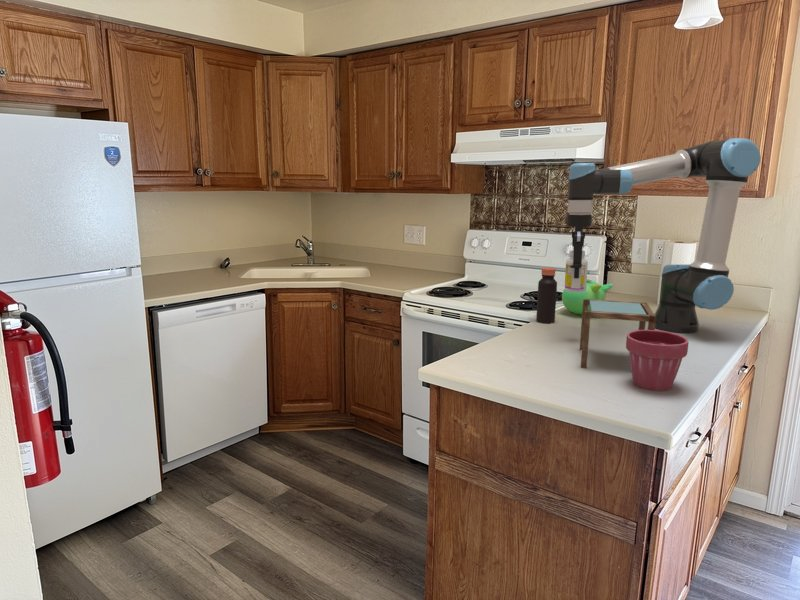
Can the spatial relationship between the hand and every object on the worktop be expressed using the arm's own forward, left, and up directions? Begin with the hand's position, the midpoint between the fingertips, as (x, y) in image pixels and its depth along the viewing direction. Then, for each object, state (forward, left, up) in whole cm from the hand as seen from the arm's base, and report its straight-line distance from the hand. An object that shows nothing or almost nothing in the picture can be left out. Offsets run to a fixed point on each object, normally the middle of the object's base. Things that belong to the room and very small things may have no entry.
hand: (575, 286), depth 177 cm
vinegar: (+9, -25, -19) cm, 32 cm away
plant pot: (-20, +36, -19) cm, 45 cm away
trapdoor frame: (-11, +18, -18) cm, 28 cm away
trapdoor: (-11, +18, -3) cm, 22 cm away
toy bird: (-5, -42, -19) cm, 46 cm away
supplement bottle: (0, 0, -2) cm, 2 cm away
